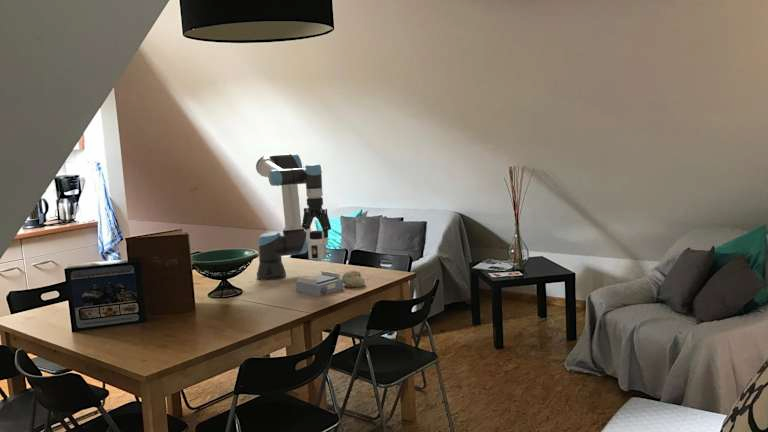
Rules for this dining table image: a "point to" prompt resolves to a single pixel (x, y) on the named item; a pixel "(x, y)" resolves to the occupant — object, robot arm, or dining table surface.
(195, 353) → the dining table surface
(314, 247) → the container
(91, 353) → the dining table surface
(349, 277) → the decorative item
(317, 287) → the grey low rectangular block
